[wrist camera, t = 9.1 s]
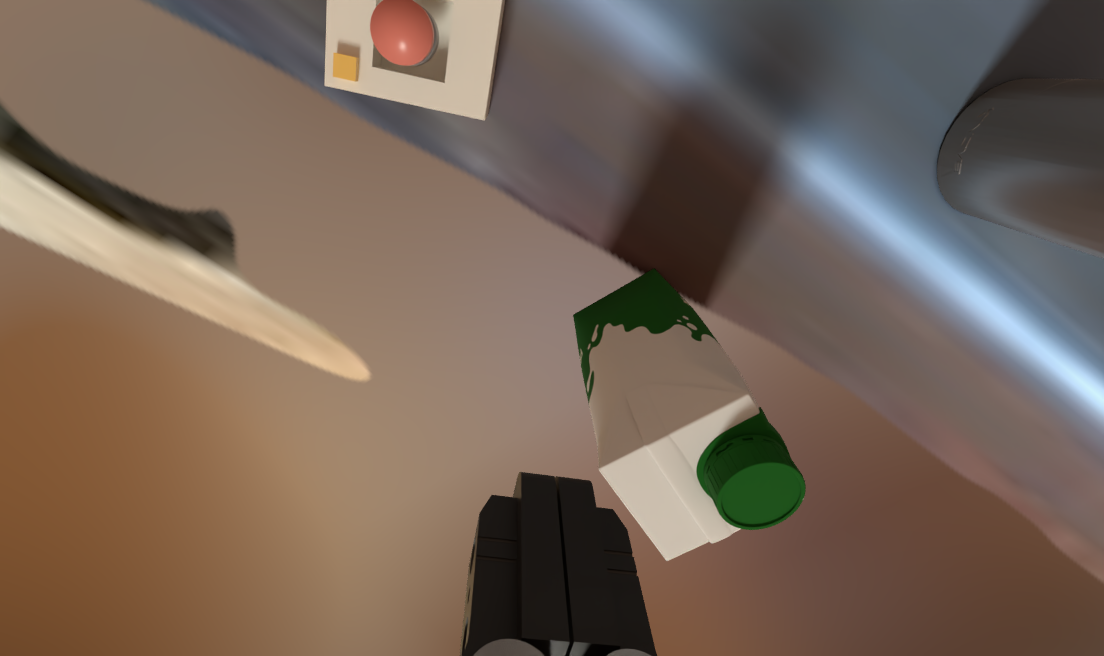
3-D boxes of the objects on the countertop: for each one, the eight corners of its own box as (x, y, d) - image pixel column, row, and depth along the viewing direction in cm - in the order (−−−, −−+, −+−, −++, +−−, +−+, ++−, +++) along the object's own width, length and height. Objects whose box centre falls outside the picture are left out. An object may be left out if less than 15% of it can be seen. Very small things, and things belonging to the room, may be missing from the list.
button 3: (442, 9, 28) (435, 4, 26) (435, 71, 30) (428, 71, 27) (384, -5, 28) (372, -11, 26) (380, 58, 29) (368, 57, 27)
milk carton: (707, 339, 43) (842, 534, 25) (609, 392, 45) (669, 610, 27) (659, 251, 39) (776, 403, 21) (554, 311, 41) (582, 500, 23)
